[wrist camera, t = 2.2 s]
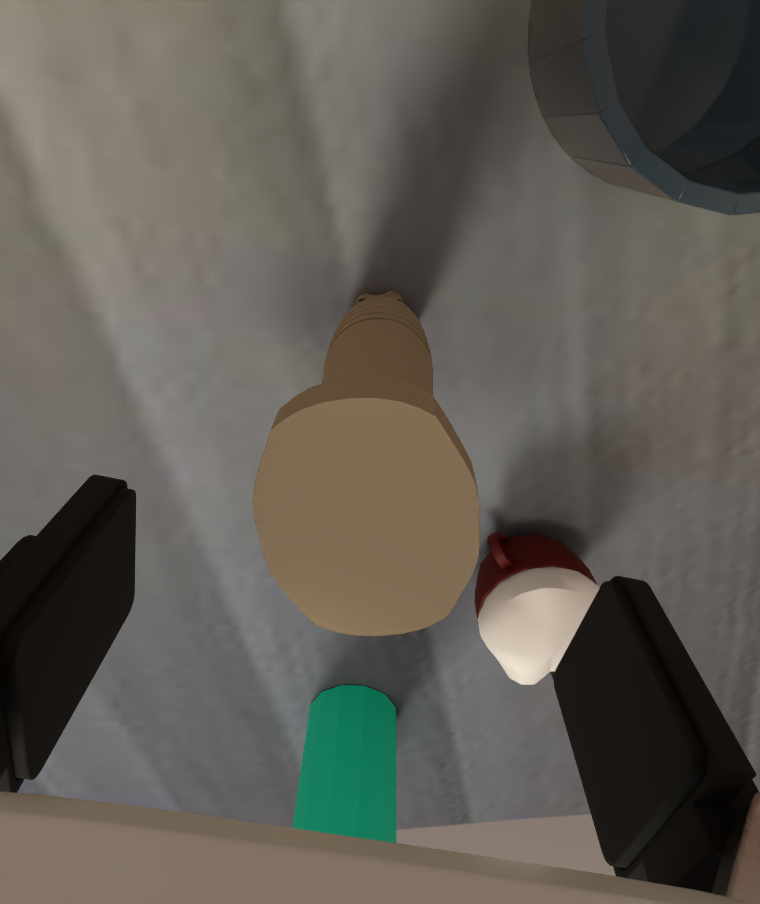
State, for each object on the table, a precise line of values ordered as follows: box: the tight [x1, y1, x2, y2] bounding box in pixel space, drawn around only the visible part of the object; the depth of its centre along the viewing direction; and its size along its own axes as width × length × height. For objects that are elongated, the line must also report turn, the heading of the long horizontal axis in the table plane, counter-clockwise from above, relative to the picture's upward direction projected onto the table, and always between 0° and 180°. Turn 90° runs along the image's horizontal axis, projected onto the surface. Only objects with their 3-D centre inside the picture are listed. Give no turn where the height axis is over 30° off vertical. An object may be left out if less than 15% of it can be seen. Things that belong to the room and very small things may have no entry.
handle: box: [252, 291, 480, 636], centre depth 19 cm, size 5×6×15 cm
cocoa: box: [475, 532, 600, 685], centre depth 27 cm, size 10×6×12 cm, turn 11°
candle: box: [293, 685, 396, 843], centre depth 34 cm, size 6×6×12 cm
